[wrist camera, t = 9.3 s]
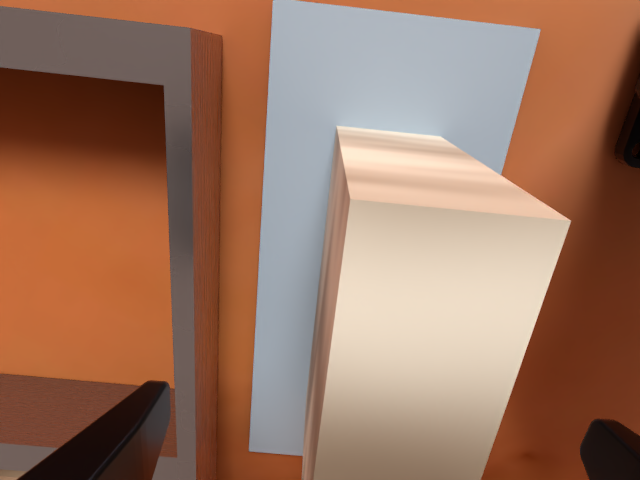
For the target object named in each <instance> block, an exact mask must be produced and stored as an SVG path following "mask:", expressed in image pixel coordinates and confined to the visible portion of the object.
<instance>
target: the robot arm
mask: <svg viewBox="0 0 640 480" xmlns="http://www.w3.org/2000/svg"><path fill="white" fill-rule="evenodd" d="M635 89H636V92H635V95H634V98H633V100H632V103H631V106H630V108H629V111H628V114H627V117H626V119H625V122H624V125H623V127H622V130H621V133H620V135H619V138H618V141H617V144H616V147H615V152H614V153H615V156H616V159H617V160H618V161H619V162H620V163H623V164H626V165H629V166H632V167H635V168H640V150H639V152H638V153H637V154H635V155H634V156H633V155H632V150H633V148H634V147H635V145H636V144H638V143H639V142H640V76H639V78H638V81H637V84H636V87H635ZM170 416H171V404H170V386H169V383H167V382H165V381H154V380H150V381H147V382H145V383H144V384H143V385H141V386H140V387H139V388H137V389H136V390H135V391H133V392H132V393H131V394H129V395H128V396H127V397H125V398H124V399H123V400H121V401H120V402H119V403H117V404H116V405H115V406H113V407H112V408H111V409H109V410H108V411H107V412H105V413H104V414H103V415H101V416H100V417H99V418H97V419H96V420H95V421H93V422H92V423H91V424H89V425H88V426H87V427H85V428H84V429H83V430H82V431H80V432H79V433H78V434H76V435H75V436H74V437H72V438H71V439H70V440H68V441H67V442H66V443H64V444H63V445H62V446H60V447H59V448H58V449H56V450H55V451H54V452H52V453H51V454H50V455H48V456H47V457H46V458H44V459H43V460H42V461H40V462H39V463H38V464H36V465H35V466H34V467H32V468H31V469H30V470H28V471H27V472H26V473H24V474H23V475H22V476H20V477H19V478H18V479H16V480H152V478H153V474H154V471H155V468H156V465H157V461H158V458H159V455H160V452H161V448H162V445H163V442H164V439H165V435H166V432H167V429H168V426H169V422H170ZM580 455H581V459H582V462H583V464H584V467H585V469H586V472H587V475H588V477H589V480H640V436H639V435H637V434H636V433H634V432H633V431H631V430H630V429H628V428H627V427H625V426H624V425H622V424H621V423H619V422H618V421H615V420H610V419H594V420H593V421H592V422H591V424H590V426H589V428H588V430H587V432H586V435H585V437H584V439H583V441H582V443H581V446H580Z"/></svg>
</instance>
